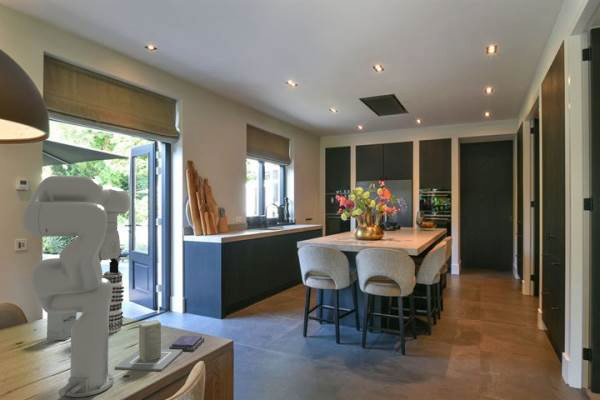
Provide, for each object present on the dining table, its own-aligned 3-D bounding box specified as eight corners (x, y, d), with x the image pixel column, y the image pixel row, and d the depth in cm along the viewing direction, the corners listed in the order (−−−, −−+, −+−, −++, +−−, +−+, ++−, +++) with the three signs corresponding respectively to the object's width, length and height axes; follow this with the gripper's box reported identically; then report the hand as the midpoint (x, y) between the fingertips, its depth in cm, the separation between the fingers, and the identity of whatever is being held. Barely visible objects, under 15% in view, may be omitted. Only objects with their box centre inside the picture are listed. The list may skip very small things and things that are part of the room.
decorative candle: (94, 331, 152) (95, 272, 153) (113, 325, 161) (114, 269, 162) (109, 334, 149) (110, 273, 150) (128, 327, 157) (129, 270, 158)
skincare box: (157, 354, 127) (157, 319, 127) (161, 358, 124) (161, 322, 124) (138, 358, 123) (138, 322, 123) (142, 362, 120) (142, 326, 120)
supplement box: (61, 340, 142) (62, 308, 143) (46, 339, 144) (46, 307, 144) (76, 334, 149) (77, 303, 150) (61, 333, 151) (62, 302, 151)
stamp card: (161, 370, 115) (161, 368, 115) (114, 368, 117) (114, 366, 117) (183, 351, 131) (183, 349, 131) (141, 349, 132) (141, 347, 133)
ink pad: (193, 350, 131) (193, 345, 131) (169, 349, 132) (169, 344, 132) (204, 340, 142) (204, 335, 142) (181, 339, 143) (181, 335, 143)
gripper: (98, 229, 120) (97, 280, 119) (129, 226, 137) (129, 271, 137) (78, 228, 121) (77, 279, 120) (111, 226, 138) (111, 270, 138)
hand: (105, 275), depth 129 cm, fingers open, 9 cm apart
